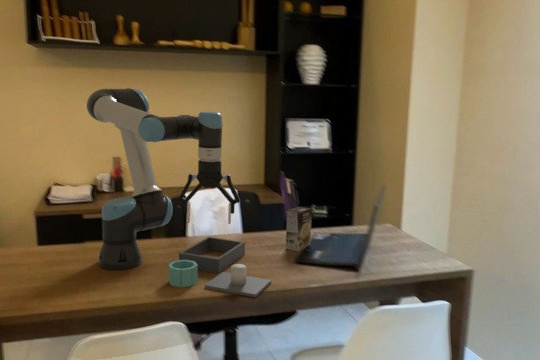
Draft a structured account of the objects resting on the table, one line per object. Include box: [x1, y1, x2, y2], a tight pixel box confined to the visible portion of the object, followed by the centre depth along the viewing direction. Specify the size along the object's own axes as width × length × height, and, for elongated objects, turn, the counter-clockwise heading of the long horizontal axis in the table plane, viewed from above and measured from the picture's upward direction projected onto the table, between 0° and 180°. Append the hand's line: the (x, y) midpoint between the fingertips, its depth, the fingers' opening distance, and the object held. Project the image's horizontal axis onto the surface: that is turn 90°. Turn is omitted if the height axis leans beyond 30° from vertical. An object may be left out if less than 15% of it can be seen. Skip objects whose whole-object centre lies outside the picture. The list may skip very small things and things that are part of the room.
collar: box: [168, 259, 199, 288], centre depth 177 cm, size 9×9×6 cm
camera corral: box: [178, 236, 246, 274], centre depth 198 cm, size 16×22×5 cm
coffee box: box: [285, 206, 313, 252], centre depth 214 cm, size 9×6×16 cm
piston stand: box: [204, 263, 272, 298], centre depth 175 cm, size 18×13×6 cm
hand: (209, 222), depth 178 cm, fingers open, 13 cm apart
